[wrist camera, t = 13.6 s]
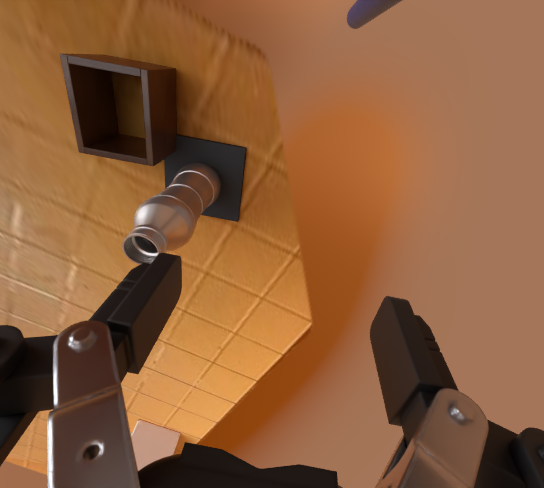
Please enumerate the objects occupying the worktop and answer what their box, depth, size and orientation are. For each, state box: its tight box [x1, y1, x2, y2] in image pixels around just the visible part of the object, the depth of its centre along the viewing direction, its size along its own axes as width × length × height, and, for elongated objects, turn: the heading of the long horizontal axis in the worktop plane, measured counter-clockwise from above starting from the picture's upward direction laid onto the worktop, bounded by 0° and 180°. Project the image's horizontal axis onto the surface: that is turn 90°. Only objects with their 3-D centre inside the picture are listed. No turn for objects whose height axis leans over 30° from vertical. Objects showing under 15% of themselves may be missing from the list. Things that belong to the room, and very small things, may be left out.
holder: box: [60, 54, 177, 166], centre depth 38 cm, size 11×10×8 cm
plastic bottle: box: [122, 163, 221, 265], centre depth 37 cm, size 6×7×20 cm
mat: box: [164, 135, 246, 222], centre depth 46 cm, size 12×12×1 cm
